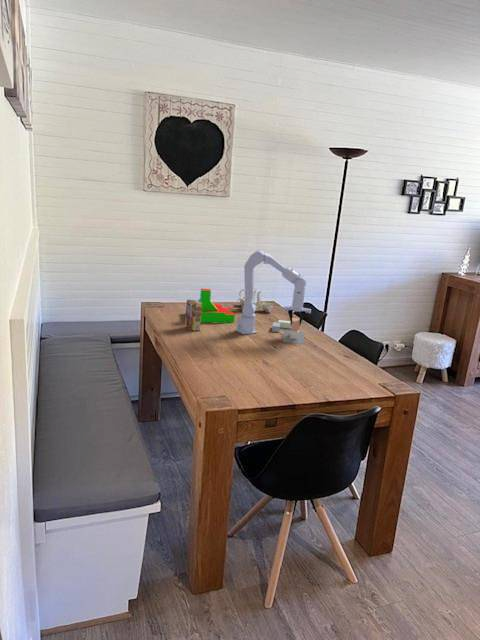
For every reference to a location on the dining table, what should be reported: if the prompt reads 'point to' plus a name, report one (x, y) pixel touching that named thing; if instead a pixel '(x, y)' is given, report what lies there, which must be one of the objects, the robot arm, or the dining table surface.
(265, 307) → the chinaware
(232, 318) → the building blocks toy
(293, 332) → the cream brick
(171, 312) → the dining table surface
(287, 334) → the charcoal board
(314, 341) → the dining table surface
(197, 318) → the candy box
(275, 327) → the slate brick
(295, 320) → the terracotta brick
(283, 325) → the sage brick
